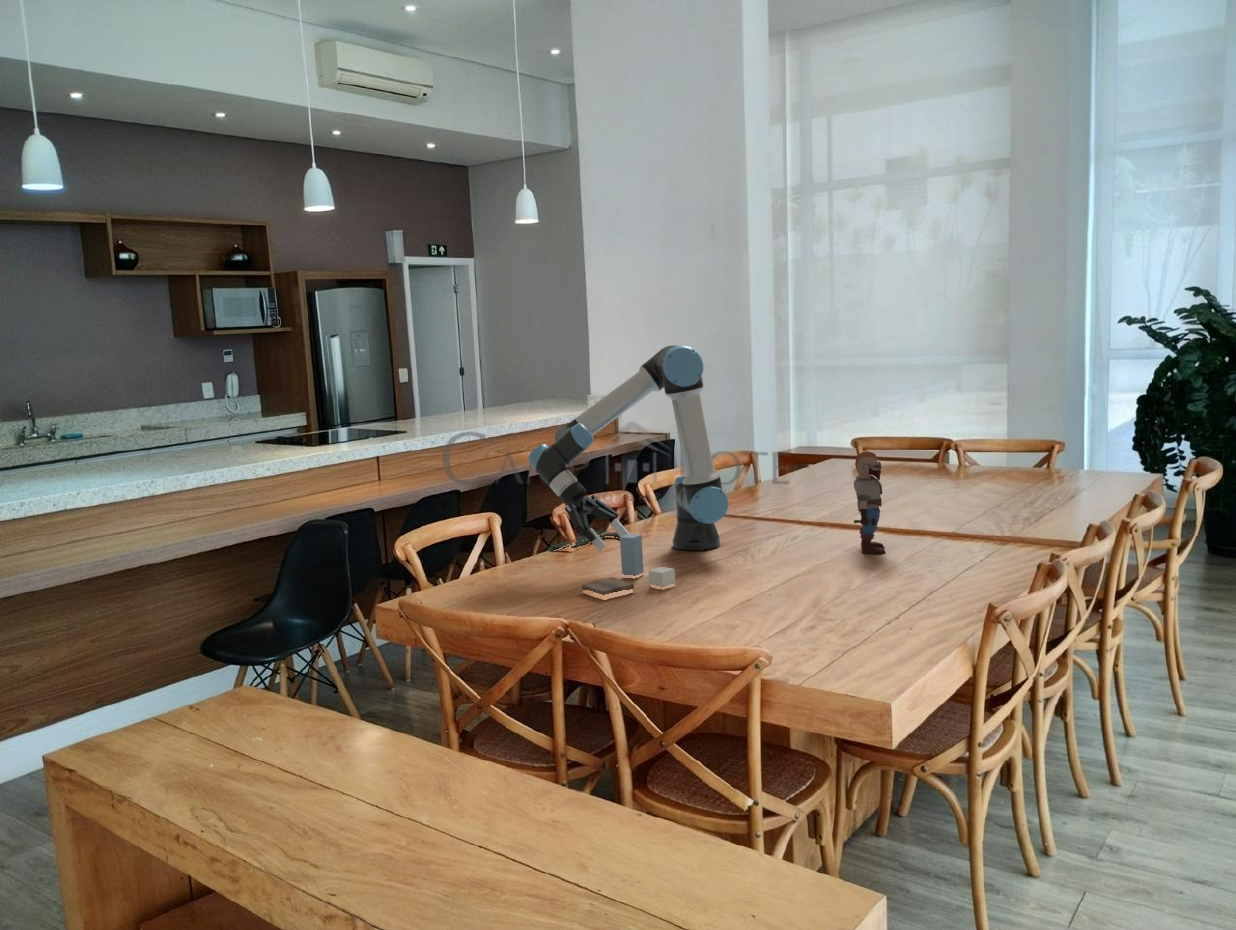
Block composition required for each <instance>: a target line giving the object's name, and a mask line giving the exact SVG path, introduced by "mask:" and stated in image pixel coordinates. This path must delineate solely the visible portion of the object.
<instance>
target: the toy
mask: <svg viewBox="0 0 1236 930" xmlns="http://www.w3.org/2000/svg"><path fill="white" fill-rule="evenodd" d="M854 464H855V465H854V466H855V468H856V470H857V473H858V475H857V476H856V477H855V480H854V482H853V489H854V491H855V493H856V499H857V510H858V511H857V512H858V513H860V520H859V519H854V520H853V523H854V524H859V523H860V525H862V526H861V527H859V534H860V537H859V538H860V539H861V541H860V548H861V553H862V554H869V555H871V554H873V555H885V554H887V552H886V550H885V546H884V544H883V543H881V542H878V541H873V540H874V539H875V532H876V530H877V528H878V524H879V521H880V515H881V514H880V513H881V509H880V508H882V506H883V504H882V497H881V495H882V494H883V486H882V484H881V482H880V479H881V474H882V463H881V461H878V458H877V454H876V453H875V452H870V451H862V452H860V453H858V454H857V455H856V459H855V463H854Z"/></svg>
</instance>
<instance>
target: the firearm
mask: <svg viewBox="0 0 1236 930" xmlns="http://www.w3.org/2000/svg"><path fill="white" fill-rule="evenodd" d="M606 531H607V530H606V528H600V529H598V530H596V531H595V532H596V533H597V535H600V536H599V537H600V538H601V537H602V538H601V539H603V540H605V539H604V538H605V536H614V537H618V538H620V536H619V535H618V534H617V532H616V531H615V532H614V531H613V532H608V531H607V533H605V532H606ZM603 533H605V534H603ZM601 534H603V535H601ZM574 538H575V539H576V540H577V542H576V543H575V542H574V543H575V544H576V545H574V546H571V548H577V547H579V546H583V545H586V544H588V543H589V542H591V541H590V540H589V539H588V538H587V537H586V536H585V535H583V536H581V535H580V536H577V537H574ZM586 539H587V540H586ZM582 540H584V541H582ZM568 543H569V541H568V540H565V541H562V542H560V543H559V542H558V543H557V544H553V545H550V546H548V548H547V551H550V552H553V551H552V550H556V549H559V548H561V547H563V546H566V545H567V544H568ZM570 545H572V543H570ZM566 547H569V545H568V546H566ZM566 547H563V549H564V548H566ZM561 550H562V549H561Z"/></svg>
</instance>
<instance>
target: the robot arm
mask: <svg viewBox="0 0 1236 930" xmlns="http://www.w3.org/2000/svg"><path fill="white" fill-rule="evenodd" d="M703 372H704V361H703V358H702V356H701V355H700V354H699V353H698V352H697V351H696V350H695V349H694V348H692V347H690V346H688V345H682V344H680V345H675V344H674V345H667V346H665V347H663V348H661V349H659V351H657V352H656V353H655V354H654V355H653V356H651V357H650V358H649V359H648V360H646V361H645V362H644V363H643V364H641V365H639V371H638V372H636V373H635V374H634V375H632V376H631V377H630V378H628V379H627V380H626V381H624V382H623V383H621V384H620V385H619V386H617V387H615V389H613V390H611V392H609V393H608V394H607V395H605V396H604V397H602V398H601V399H599V400H598V401H597V402H595V403H594V404H592V405H591V406H590V407H589V408H587V409H585V411H583V412H582V413H579V415H578V416H577V417H575V418H574V419H572V420H571V421H570V422H568V423H567V424H564V425H561V426H560V427H558V428H557V430H556V431H555V433H554V442H553V444H552V445H550V446H548V445H547V443H542V444H539V445H538V446H536V447H535V448H534V449H533V450H531V452H530V453H529V455H528V458H527V459H528V463H529V464H530V465H531V467H532V468H533V469H534V470H535V472H536V473H537V474H538V475H539V476H540V478H542V480H543V481H544V482H545V483H546V484H547V486H549V487H550V488H551V490H552V491H553V493H555V495H556V496H557V497H559V499H560V501H561V502H562V503H563V505H565V507H564V510H565V512H566V513H567V515H568V516H569V519H570V522H571V524H572V526H573V528H574V530H575V532H576V533H575V534H578V535H579V536H580V537H581V536H586V537H587V538H588V539H589V540H590V541H591V542H592V543H593V544H592V545H593V546H594V547H595V548H596V550H598V552H602V550H603V549H604V548H605V547H606V546H607V543H605V542H604V539H603V540H602V539H601V538H600V537H599V536H598V535H597V533H596V531H595V530H594V529H593V528H592V527H590V525H589V521H588V516H587V515H589V514H590V515H594V516H596V517H598V518H601V519H603V520H604V521H606V522H608V523H609V526H610V527H611V528H612V529H613V530H614V531H615V532H617V534H618V535H619V536H620V537H622V536H624V535H626V534H631V533H630V532H629V531H628V530H627V529H626V528H625V527H624V525H623V524H622V522H621V521H620V520H619V519H618V517H619V515H620V514H619V513H618V512H617V511H616V510H614V509H613V508H611V507H610V506H609V505H607V504H606V503H604V502H603V501H602V500H600V499H599V498H598V497H597V496H596V495H594V494H592V495H591V496H590V497H589V496H587V494H586V493H587V489H586V488H585V487H584V485H583V484H581V482H580V481H578V478H577V477H576V476H575V475H574V474H573V473H572V472H571V471H570V470H569V468H568V467H567V466H569V465H570V464H571V463H572V462H573V461H574V460H576V459H577V457H579V456H580V455H581V454H582V453H583V452H584V451H586V450H588V449H589V447H590V446H591V445H592V444H593V443H594V442H595V438H594V435H595V434H597V433H598V432H599V431H601V430H602V429H604V428H605V427H607V426H608V425H609V424H610V423H612V422H613V421H615V420H616V419H618V418H619V417H620V416H621V415H622V414H624V413H626V412H627V411H628V410H630V409H631V408H632V407H633V406H635V405H636V404H638V403H640V402H641V401H642V400H643V399H645V398H646V397H648V396H649V395H650V394H651V393H653V392H660V391H661V390H662V389H664V393H665V395H666V396H667V397H668V398H669V399H670V400H671V403H672V409H673V415H674V420H675V424H676V430H677V435H678V440H679V445H680V450H681V456H682V461H683V466H684V473H685V475H679V476H676V478H675V480H674V481H675V482H674V483H675V485H674V492H675V506H676V509H675V511H676V527H675V530H674V535H673V538H672V547H673V549H675V548H676V550H679V549H682V550H681V551H686V550H699V551H705V550H704V549H708V550H712V549H711V548H713V549H716V548H718V547H720V546H721V538H720V535H719V533H718V530H717V527H716V524H715V523H717V522H719V521H721V519H723V518H724V517H725V516H726V513H727V512H728V509H729V498H728V496H727V494H726V491H724V490H723V485H722V479H721V475H720V474H719V473H718V472H716V471H715V469H714V465H713V463H714V462H713V458H712V453H711V448H710V447H711V446H710V444H709V442H710V441H709V437H708V432H707V431H708V430H707V428H706V427H707V426H706V422H705V415H704V411H703V404H702V399H701V394H700V393H701V392H702V390H703V388H704V382H703V377H702V376H703ZM715 547H716V548H715Z"/></svg>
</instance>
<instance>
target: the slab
mask: <svg viewBox="0 0 1236 930" xmlns="http://www.w3.org/2000/svg"><path fill="white" fill-rule="evenodd" d="M634 587H635V586H634V583H631V582H628V581H625V580H622V579H618V578H615V577H608V578H603V579H600V580H596V581H593V582H588V583H583V584H581V589H583V590H590V591H593V592H596V593H599V594H602V595H605V594H609V593H613V592H618V591H622V590H630V589H634ZM634 590H635V589H634Z"/></svg>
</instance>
